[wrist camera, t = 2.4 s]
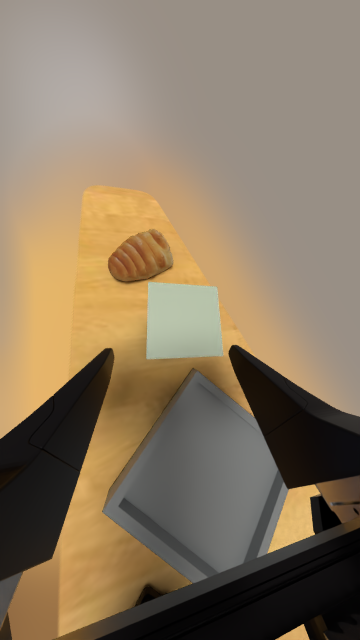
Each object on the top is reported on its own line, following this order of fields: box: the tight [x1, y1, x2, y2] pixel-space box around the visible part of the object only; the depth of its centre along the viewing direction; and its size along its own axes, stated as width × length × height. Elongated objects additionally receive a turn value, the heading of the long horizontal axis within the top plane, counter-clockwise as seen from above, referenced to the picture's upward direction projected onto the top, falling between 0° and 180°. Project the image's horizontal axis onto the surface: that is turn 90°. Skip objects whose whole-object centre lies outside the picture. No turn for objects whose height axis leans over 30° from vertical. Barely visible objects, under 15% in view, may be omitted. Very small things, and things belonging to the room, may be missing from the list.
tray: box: [102, 368, 289, 583], centre depth 16 cm, size 16×18×2 cm
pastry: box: [108, 229, 173, 282], centre depth 19 cm, size 9×7×4 cm
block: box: [146, 282, 223, 359], centre depth 13 cm, size 4×4×12 cm
